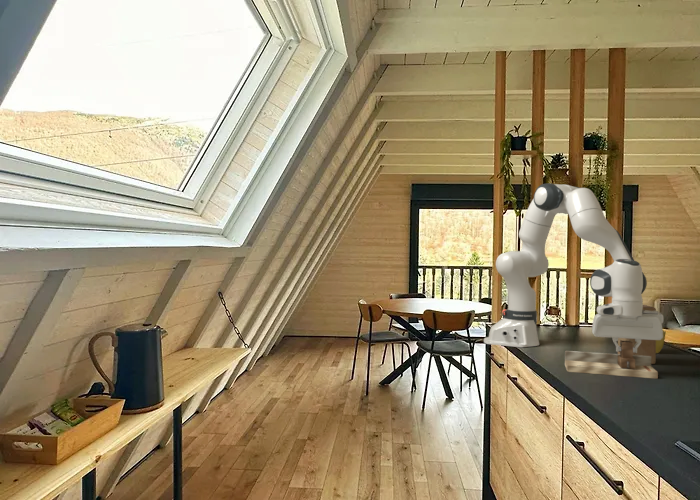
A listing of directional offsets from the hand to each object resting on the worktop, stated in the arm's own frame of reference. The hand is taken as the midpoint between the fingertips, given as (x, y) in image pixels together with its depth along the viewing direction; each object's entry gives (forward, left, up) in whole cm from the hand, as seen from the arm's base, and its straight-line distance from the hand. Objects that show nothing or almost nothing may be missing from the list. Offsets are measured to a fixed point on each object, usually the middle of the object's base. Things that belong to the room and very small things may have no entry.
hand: (626, 352), depth 168 cm
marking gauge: (0, 0, -5) cm, 5 cm away
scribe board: (-5, 0, -7) cm, 8 cm away
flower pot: (+16, +42, -7) cm, 46 cm away
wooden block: (+7, +21, -7) cm, 24 cm away
